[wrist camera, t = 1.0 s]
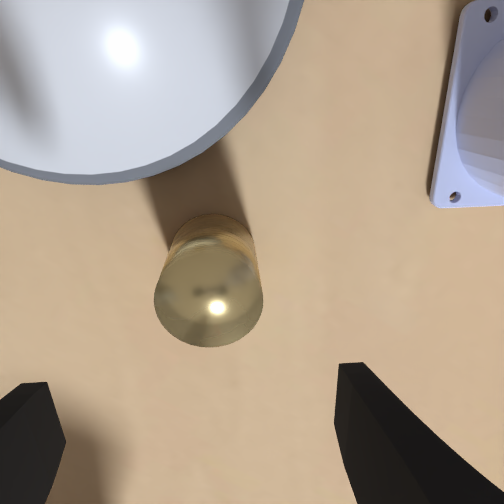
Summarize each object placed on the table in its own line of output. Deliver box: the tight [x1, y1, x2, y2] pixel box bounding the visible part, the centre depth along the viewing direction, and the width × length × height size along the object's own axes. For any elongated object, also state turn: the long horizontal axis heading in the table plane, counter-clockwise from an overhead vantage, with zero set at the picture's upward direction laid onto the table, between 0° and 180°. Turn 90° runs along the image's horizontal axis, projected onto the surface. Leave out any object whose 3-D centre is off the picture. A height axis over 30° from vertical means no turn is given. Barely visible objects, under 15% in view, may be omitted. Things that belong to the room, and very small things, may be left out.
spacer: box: [154, 214, 263, 347], centre depth 16 cm, size 4×4×4 cm
